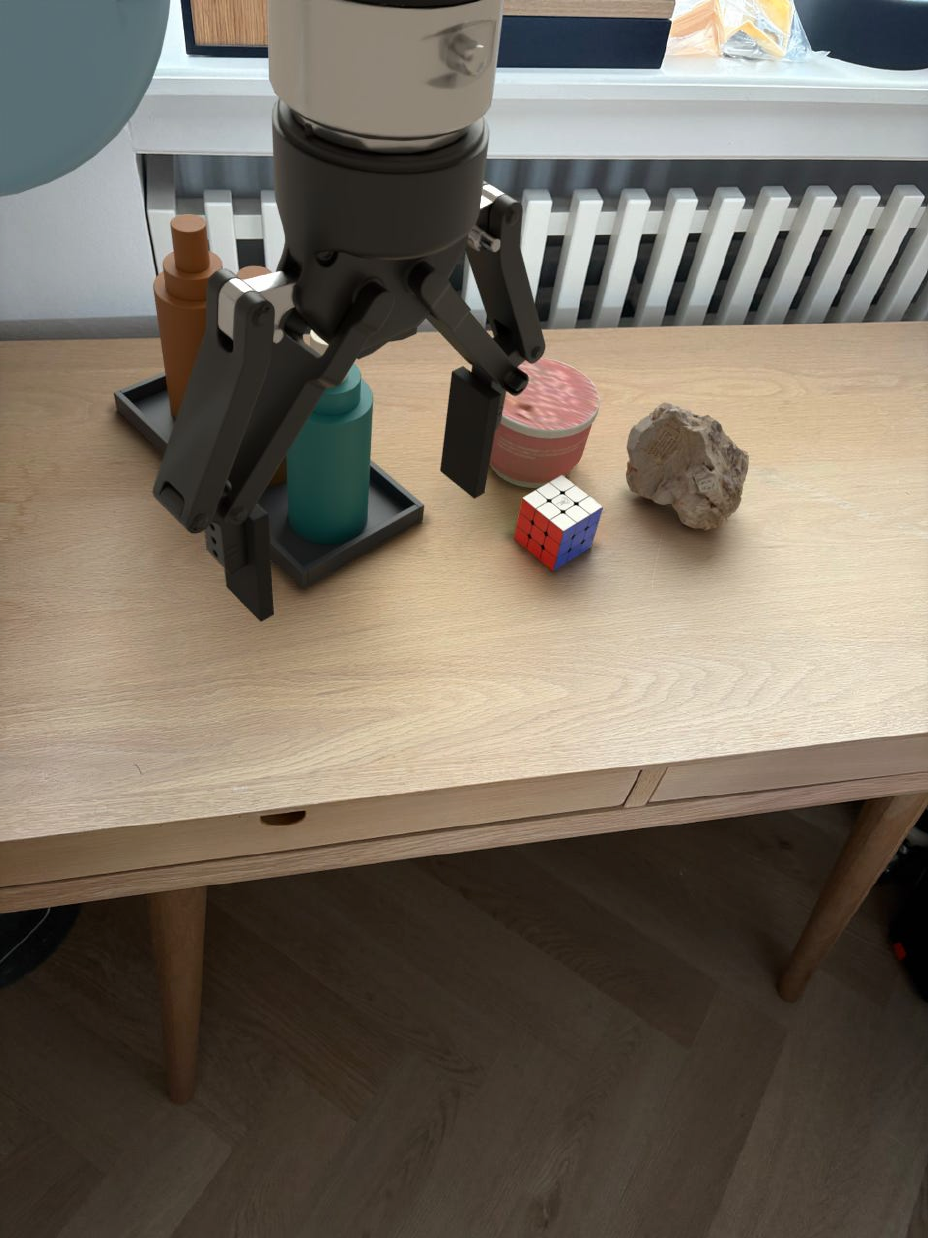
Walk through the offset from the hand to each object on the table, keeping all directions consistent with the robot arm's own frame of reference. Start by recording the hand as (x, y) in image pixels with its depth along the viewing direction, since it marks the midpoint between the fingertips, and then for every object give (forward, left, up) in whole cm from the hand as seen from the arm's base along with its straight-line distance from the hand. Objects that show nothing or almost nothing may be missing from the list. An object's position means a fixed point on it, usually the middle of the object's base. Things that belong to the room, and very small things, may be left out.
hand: (363, 538), depth 51 cm
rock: (+43, +5, -27) cm, 51 cm away
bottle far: (+16, +41, -26) cm, 51 cm away
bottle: (+16, +23, -26) cm, 38 cm away
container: (+36, +18, -27) cm, 48 cm away
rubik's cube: (+30, +9, -27) cm, 41 cm away
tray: (+16, +32, -27) cm, 45 cm away
